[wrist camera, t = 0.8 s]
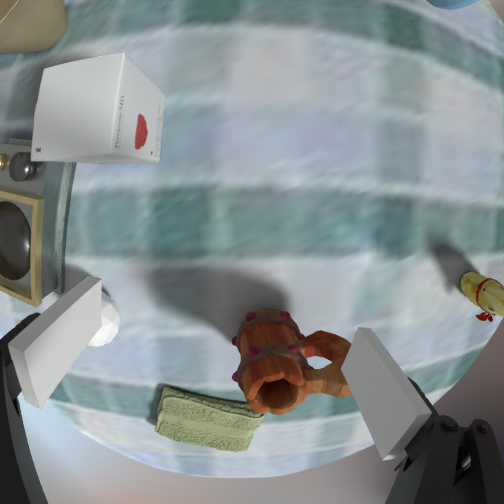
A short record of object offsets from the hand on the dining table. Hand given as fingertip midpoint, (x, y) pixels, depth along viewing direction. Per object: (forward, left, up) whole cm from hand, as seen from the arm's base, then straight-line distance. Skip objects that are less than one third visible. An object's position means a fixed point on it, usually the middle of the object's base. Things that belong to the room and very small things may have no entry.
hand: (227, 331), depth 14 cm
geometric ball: (+15, -16, -24) cm, 32 cm away
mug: (+11, +10, -24) cm, 28 cm away
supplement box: (-10, -16, -24) cm, 30 cm away
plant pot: (-25, -37, -24) cm, 51 cm away
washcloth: (+33, +3, -24) cm, 41 cm away
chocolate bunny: (-1, +42, -24) cm, 48 cm away
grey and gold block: (+4, -31, -24) cm, 39 cm away
